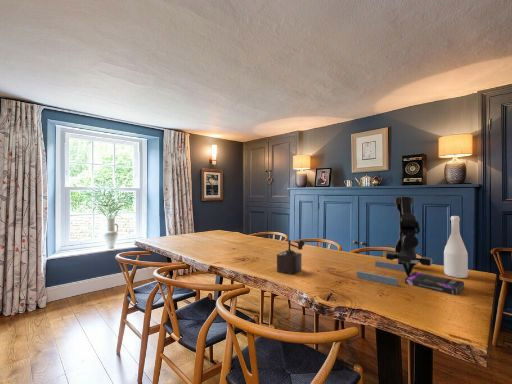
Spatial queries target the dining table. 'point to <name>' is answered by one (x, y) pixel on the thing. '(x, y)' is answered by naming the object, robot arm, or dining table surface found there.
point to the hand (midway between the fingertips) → (408, 276)
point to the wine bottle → (455, 253)
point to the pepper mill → (290, 260)
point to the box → (435, 283)
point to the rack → (378, 277)
